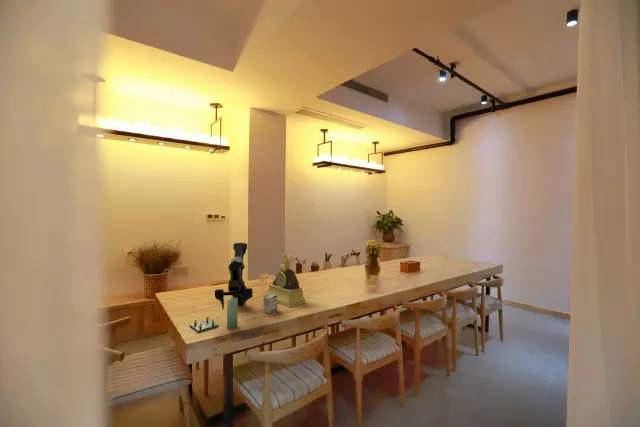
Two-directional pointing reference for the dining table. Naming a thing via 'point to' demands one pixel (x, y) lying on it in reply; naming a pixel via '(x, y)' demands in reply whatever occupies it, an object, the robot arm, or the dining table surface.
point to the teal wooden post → (232, 312)
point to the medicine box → (270, 303)
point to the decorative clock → (286, 286)
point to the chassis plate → (203, 325)
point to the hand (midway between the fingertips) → (232, 308)
